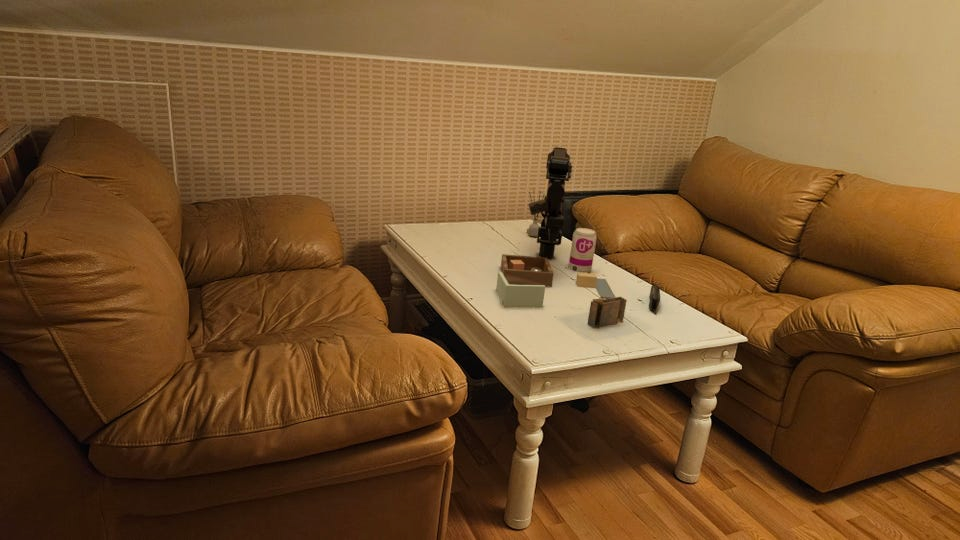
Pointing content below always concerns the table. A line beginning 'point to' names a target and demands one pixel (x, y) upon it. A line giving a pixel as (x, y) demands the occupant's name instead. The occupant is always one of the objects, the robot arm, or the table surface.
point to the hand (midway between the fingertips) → (549, 238)
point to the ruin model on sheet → (606, 311)
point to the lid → (595, 284)
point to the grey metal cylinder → (536, 269)
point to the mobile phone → (654, 298)
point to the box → (527, 271)
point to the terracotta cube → (516, 265)
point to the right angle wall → (519, 294)
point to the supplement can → (582, 250)
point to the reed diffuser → (534, 223)
